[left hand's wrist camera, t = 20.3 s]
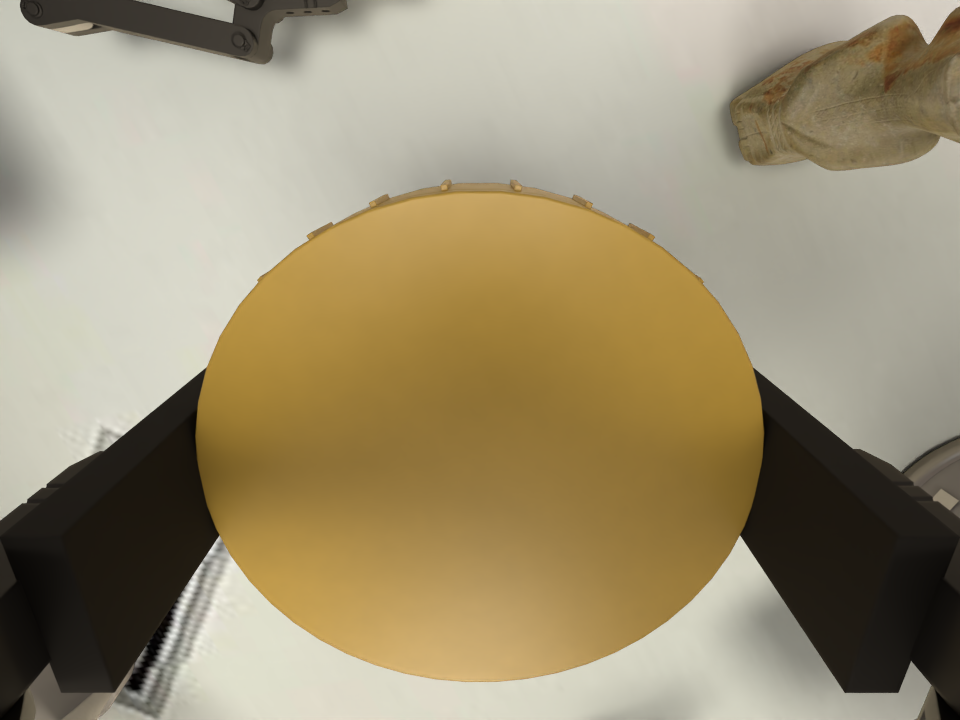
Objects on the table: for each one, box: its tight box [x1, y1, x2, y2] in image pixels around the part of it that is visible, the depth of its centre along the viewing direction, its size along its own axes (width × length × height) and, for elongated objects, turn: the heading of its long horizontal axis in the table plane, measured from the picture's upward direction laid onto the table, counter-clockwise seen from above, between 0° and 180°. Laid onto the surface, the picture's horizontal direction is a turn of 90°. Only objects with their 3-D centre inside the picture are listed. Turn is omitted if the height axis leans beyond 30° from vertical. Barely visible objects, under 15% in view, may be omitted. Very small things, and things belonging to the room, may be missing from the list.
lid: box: [195, 180, 764, 682], centre depth 11 cm, size 10×10×2 cm
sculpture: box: [730, 7, 960, 171], centre depth 24 cm, size 6×7×15 cm
